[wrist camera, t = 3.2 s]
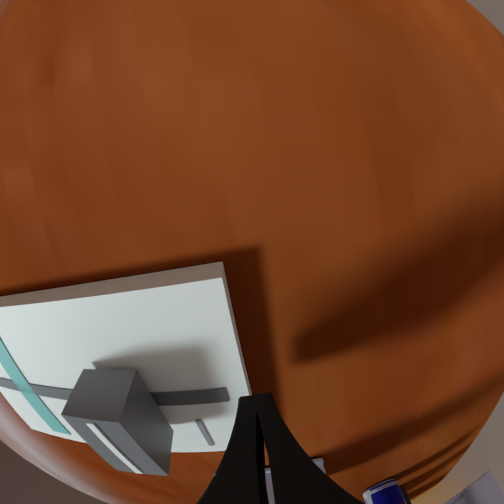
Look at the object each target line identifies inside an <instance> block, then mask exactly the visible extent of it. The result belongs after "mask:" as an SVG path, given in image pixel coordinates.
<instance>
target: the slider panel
mask: <svg viewBox="0 0 504 504" xmlns="http://www.w3.org/2000/svg"><path fill="white" fill-rule="evenodd" d="M83 369H137V371H138V373H139V375H140V377H141V378H142V380H143V382H144V384H145V386H146V387H147V389H148V391H149V393H150V394H151V396H152V398H153V399H154V401H155V403H156V404H157V406H158V407H159V409H160V411H161V412H162V414H163V415H164V417H165V418H166V420H167V421H168V423H169V424H170V426H171V427H172V429H173V430H174V432H173V440H172V448H171V452H210V451H226V448H227V446H228V443H229V440H230V437H231V433H232V430H233V426H234V423H235V418H236V414H237V408H238V398H240V397H241V396H249V395H252V392H251V388H250V384H249V380H248V376H247V371H246V367H245V363H244V359H243V354H242V350H241V345H240V341H239V337H238V332H237V327H236V323H235V318H234V314H233V309H232V304H231V300H230V295H229V290H228V285H227V280H226V275H225V270H224V265H223V261H221V262H215V263H209V264H203V265H197V266H191V267H185V268H179V269H172V270H166V271H160V272H154V273H148V274H141V275H135V276H129V277H123V278H116V279H110V280H104V281H98V282H91V283H85V284H78V285H72V286H66V287H59V288H53V289H46V290H40V291H33V292H27V293H20V294H14V295H7V296H1V297H0V392H1V393H2V394H3V396H4V397H5V398H6V399H7V401H8V402H9V403H10V404H11V406H12V407H13V408H14V409H15V411H16V412H17V413H18V414H19V415H20V416H21V418H22V419H23V420H24V421H25V422H26V423H27V424H28V425H29V426H30V427H31V429H34V430H38V431H41V432H44V433H47V434H51V435H55V436H58V437H62V438H66V439H71V440H75V441H80V442H85V443H87V442H86V441H85V440H84V439H83V438H82V437H81V436H80V435H79V434H78V433H77V432H76V431H75V430H74V429H73V428H72V427H71V426H70V425H69V423H68V422H67V421H66V420H65V419H64V418H63V417H62V415H61V413H62V411H63V409H64V407H65V404H66V402H67V400H68V398H69V396H70V394H71V392H72V390H73V388H74V386H75V384H76V382H77V380H78V378H79V376H80V375H81V373H82V371H83Z"/></svg>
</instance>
